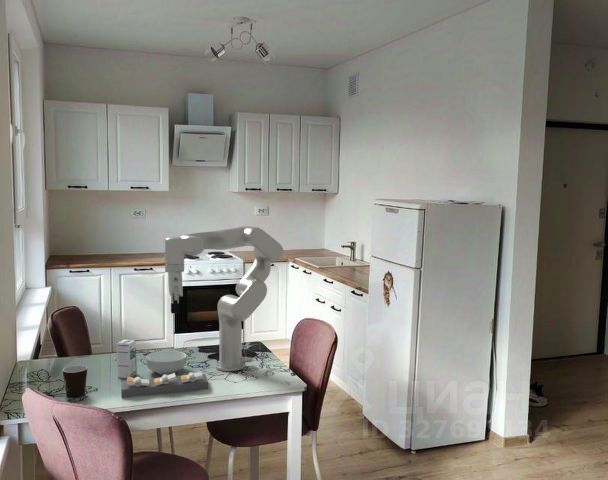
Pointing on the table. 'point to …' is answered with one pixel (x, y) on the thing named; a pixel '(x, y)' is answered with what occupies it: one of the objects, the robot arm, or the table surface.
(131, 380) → the rocker
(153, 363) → the cereal bowl
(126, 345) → the syrup box
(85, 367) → the coffee mug
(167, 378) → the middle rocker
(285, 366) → the table surface
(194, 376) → the rocker
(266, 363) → the table surface
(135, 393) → the switch panel
